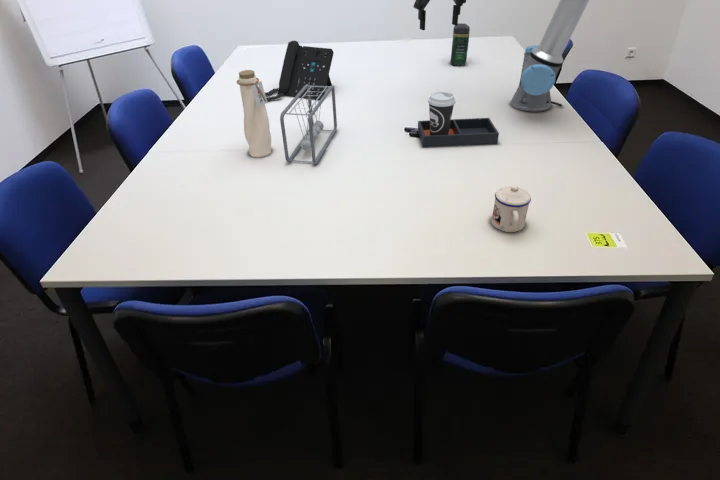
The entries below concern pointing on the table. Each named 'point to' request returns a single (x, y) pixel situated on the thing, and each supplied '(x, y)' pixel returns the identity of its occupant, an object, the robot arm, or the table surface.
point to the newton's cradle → (313, 127)
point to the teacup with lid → (510, 208)
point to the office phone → (304, 71)
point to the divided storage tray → (460, 133)
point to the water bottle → (255, 114)
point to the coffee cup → (440, 112)
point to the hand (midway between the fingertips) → (438, 27)
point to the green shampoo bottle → (460, 44)
